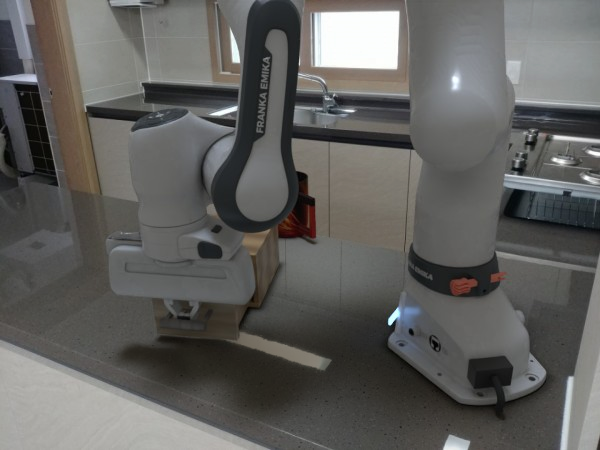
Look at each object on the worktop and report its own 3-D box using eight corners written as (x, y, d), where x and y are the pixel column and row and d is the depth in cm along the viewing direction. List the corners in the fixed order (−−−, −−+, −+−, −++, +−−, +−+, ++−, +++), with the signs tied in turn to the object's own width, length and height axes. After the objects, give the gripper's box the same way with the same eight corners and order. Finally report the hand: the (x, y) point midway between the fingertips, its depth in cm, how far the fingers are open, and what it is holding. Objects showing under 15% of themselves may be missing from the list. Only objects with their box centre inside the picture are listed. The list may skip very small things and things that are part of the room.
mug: (314, 244, 111) (313, 190, 106) (257, 233, 117) (254, 181, 112) (333, 227, 118) (333, 175, 114) (279, 217, 124) (277, 168, 120)
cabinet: (259, 307, 89) (255, 255, 85) (181, 301, 91) (174, 250, 88) (279, 263, 103) (277, 217, 99) (211, 259, 106) (206, 213, 102)
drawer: (227, 360, 75) (222, 312, 72) (143, 352, 77) (135, 305, 74) (261, 290, 92) (258, 249, 89) (192, 285, 94) (186, 245, 91)
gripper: (91, 240, 70) (109, 329, 75) (242, 249, 66) (249, 342, 72) (115, 221, 76) (130, 305, 81) (255, 228, 72) (261, 316, 77)
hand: (187, 322), depth 76 cm, fingers closed, pressing on drawer
